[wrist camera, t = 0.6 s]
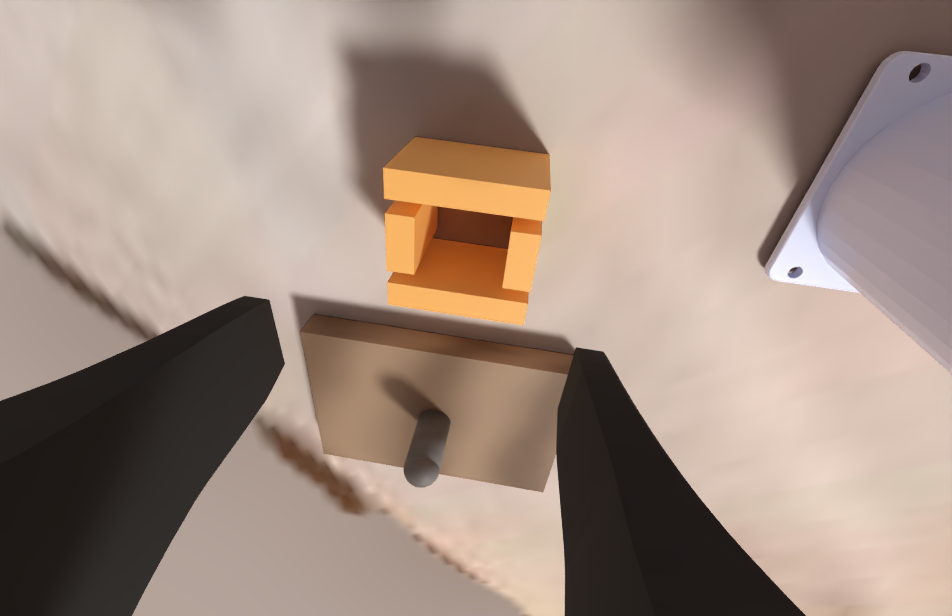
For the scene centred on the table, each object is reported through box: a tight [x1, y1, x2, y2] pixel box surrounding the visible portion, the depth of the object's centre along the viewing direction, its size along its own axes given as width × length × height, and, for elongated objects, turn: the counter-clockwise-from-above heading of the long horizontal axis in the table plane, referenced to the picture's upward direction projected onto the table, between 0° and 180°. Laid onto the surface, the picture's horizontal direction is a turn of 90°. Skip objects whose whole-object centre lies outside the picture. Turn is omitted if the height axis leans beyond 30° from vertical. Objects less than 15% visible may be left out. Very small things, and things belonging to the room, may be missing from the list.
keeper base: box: [300, 314, 574, 492], centre depth 22 cm, size 14×10×5 cm
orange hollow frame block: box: [383, 137, 551, 325], centre depth 16 cm, size 5×5×4 cm
